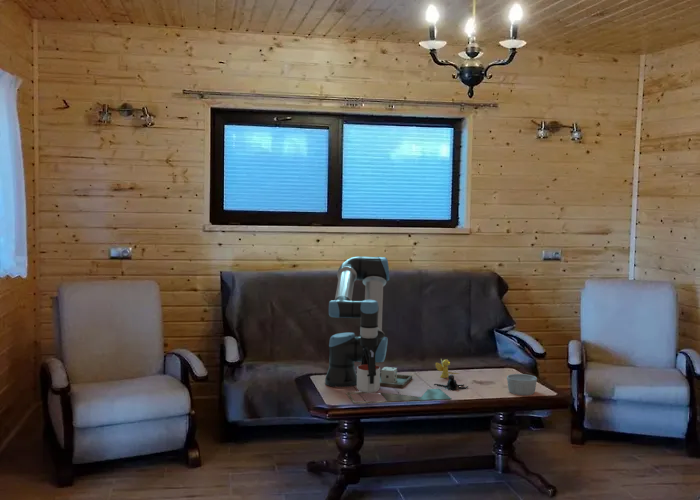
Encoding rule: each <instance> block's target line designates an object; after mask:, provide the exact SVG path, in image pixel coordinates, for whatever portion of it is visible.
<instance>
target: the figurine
mask: <svg viewBox="0 0 700 500" xmlns="http://www.w3.org/2000/svg"><path fill="white" fill-rule="evenodd" d="M440 362H441V363H439V362H434V363H435V369H436V370H437V371H439V372H441V375H440V378H441V379H449V378H448V376H449V375H460V373H458V372H451V371H449V366H451V362H450V360H448V358H447V359H443V360H442V358H440Z"/></svg>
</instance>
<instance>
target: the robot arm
mask: <svg viewBox="0 0 700 500" xmlns="http://www.w3.org/2000/svg"><path fill="white" fill-rule="evenodd" d="M336 275H337V286H336V292H335V298H334V300H332V299H331V300H329V302H328V315H329V317H330V318H337V319H339V318H341V319H342V318H346V319H347V318H350V319H360V327H359V331H360V332H359V336H357V335H356V334H355V332H348V331H347V332H339V333H335V334H333V335H331V336H330V338H329V343H328V347H329V350H328V352H329V357H328V359H329V361H328V363H329V364H328V365H329V366H328V368H327V369H328V370H327V372H326V375H325V378H324V379H325V380H324V383H325V384H324V385H326V386H329V387H332V388H347V387H348V388H349V387H354V386H357V370H356V369H355V363H357V362H358V363H361V364H360V365H367V364H368V372H369V375H367V376H368V391H374V382H375V376H376V363H383V362H385V359H386V355H387V349H388V342H389V340H388V339H389V338H388V337H387V336H386V335H385V332H384V331H383V301H384V287H385V286H386V284H387V282H388V281H390V268H389V261H388V258H387V257H384V256H361V255H359V256H352V257H350V258H348V259H346V260H345V261H344V262H342V263H341V265H340V266H339V268H338V270H337V273H336ZM356 281H362V284H363V285H364V286H365V288H364V289H365V291H364V300H352V299H353V293H354V286H355V282H356Z"/></svg>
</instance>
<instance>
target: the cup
mask: <svg viewBox="0 0 700 500" xmlns="http://www.w3.org/2000/svg"><path fill="white" fill-rule="evenodd" d="M375 365H376V364H375ZM380 373H381V367H380V366H379V365H376V376H375V382H374V391H368V376H367V375H369V372H368V364H367V365H361V364H360V365H357V366H356V375H357V385H356V389H357V390H358V392H367V393H366V394H372V393H371V392H378V391H379V390H380V388H381V386H380Z"/></svg>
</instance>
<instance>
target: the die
mask: <svg viewBox="0 0 700 500" xmlns="http://www.w3.org/2000/svg"><path fill="white" fill-rule="evenodd" d="M380 373H381V382H385V383H395V382H396V381H397V374H398V367H390V366H384V367H382V369H381V368H380Z"/></svg>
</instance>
